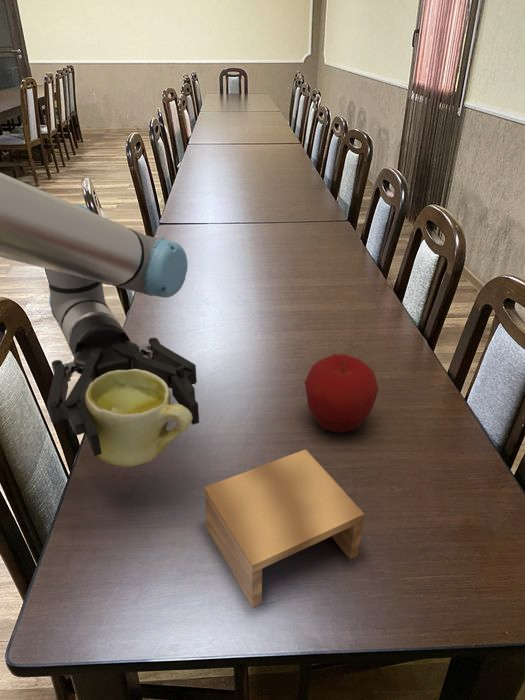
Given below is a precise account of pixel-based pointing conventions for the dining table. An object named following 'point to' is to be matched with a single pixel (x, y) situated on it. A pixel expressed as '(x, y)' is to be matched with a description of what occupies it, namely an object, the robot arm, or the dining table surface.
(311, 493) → the shelf
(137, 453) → the mug
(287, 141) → the dining table surface
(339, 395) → the apple
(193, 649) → the dining table surface
